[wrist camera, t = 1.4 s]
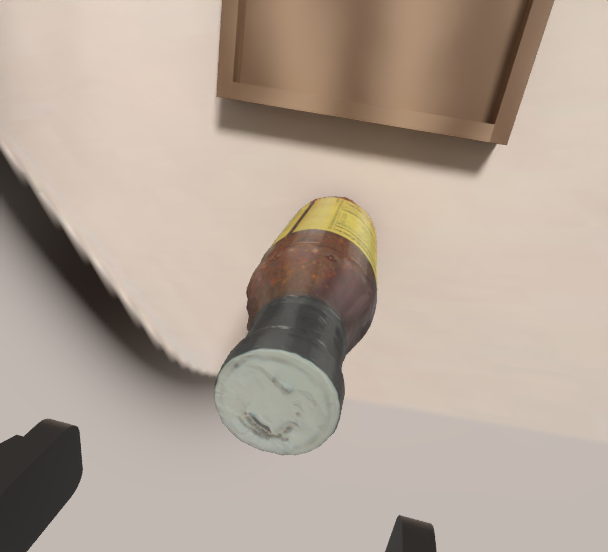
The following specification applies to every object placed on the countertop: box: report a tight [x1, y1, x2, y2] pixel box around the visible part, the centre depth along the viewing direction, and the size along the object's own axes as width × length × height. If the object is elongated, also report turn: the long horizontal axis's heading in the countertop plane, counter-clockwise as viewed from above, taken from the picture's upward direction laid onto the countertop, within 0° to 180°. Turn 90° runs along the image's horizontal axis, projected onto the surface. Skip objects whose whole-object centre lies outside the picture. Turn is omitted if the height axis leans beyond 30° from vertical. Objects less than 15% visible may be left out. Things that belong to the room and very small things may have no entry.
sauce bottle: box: [214, 197, 377, 455], centre depth 22 cm, size 6×6×20 cm
